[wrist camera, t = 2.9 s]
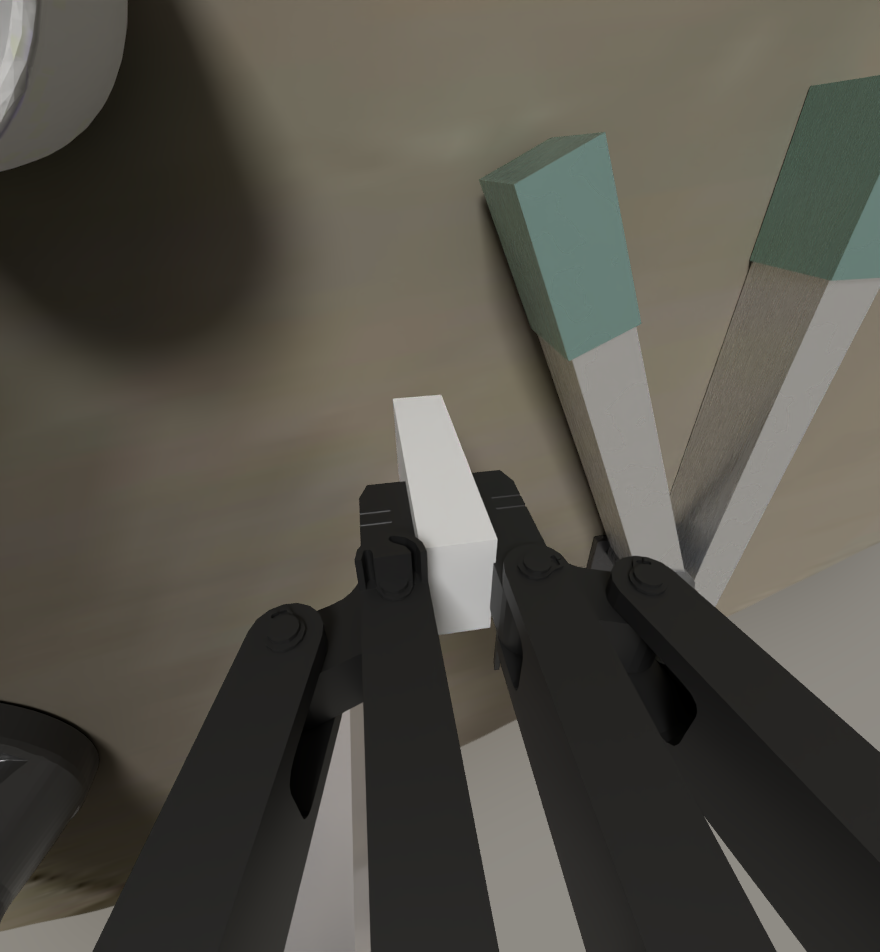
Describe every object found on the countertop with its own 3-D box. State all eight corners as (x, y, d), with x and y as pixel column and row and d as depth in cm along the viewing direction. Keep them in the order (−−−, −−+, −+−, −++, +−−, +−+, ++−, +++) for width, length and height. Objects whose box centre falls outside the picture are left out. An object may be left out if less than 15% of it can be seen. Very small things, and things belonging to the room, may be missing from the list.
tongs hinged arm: (612, 570, 30) (646, 620, 27) (474, 182, 16) (508, 188, 13) (657, 549, 30) (697, 598, 26) (555, 134, 16) (613, 128, 13)
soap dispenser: (421, 710, 37) (496, 1213, 19) (334, 753, 39) (330, 1259, 21) (375, 678, 33) (416, 1264, 16) (280, 728, 35) (221, 1315, 17)
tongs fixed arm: (581, 589, 32) (609, 640, 28) (705, 85, 16) (801, 65, 13) (678, 574, 33) (716, 621, 30) (881, 86, 17) (1012, 68, 14)
